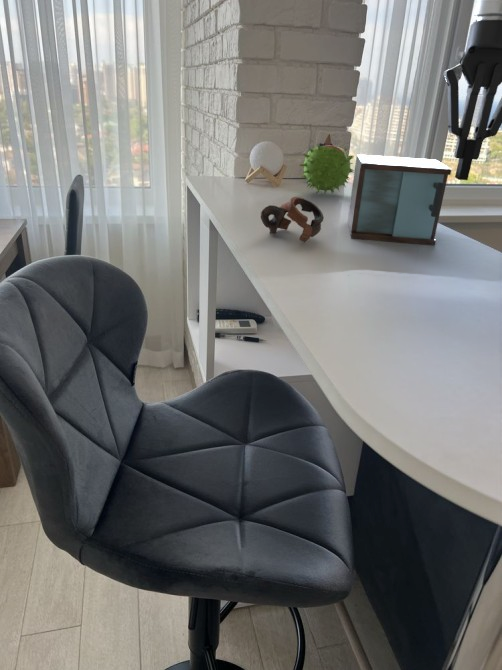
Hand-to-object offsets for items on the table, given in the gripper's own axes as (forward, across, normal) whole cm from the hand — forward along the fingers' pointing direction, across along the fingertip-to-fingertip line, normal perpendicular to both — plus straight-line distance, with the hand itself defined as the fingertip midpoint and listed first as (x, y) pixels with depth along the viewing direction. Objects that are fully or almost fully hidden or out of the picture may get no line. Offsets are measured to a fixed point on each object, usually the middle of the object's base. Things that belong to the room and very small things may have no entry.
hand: (461, 178), depth 88 cm
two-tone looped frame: (+13, -29, 0) cm, 32 cm away
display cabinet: (+13, -9, +10) cm, 19 cm away
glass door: (+12, -6, +2) cm, 13 cm away
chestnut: (+13, -22, +47) cm, 54 cm away
